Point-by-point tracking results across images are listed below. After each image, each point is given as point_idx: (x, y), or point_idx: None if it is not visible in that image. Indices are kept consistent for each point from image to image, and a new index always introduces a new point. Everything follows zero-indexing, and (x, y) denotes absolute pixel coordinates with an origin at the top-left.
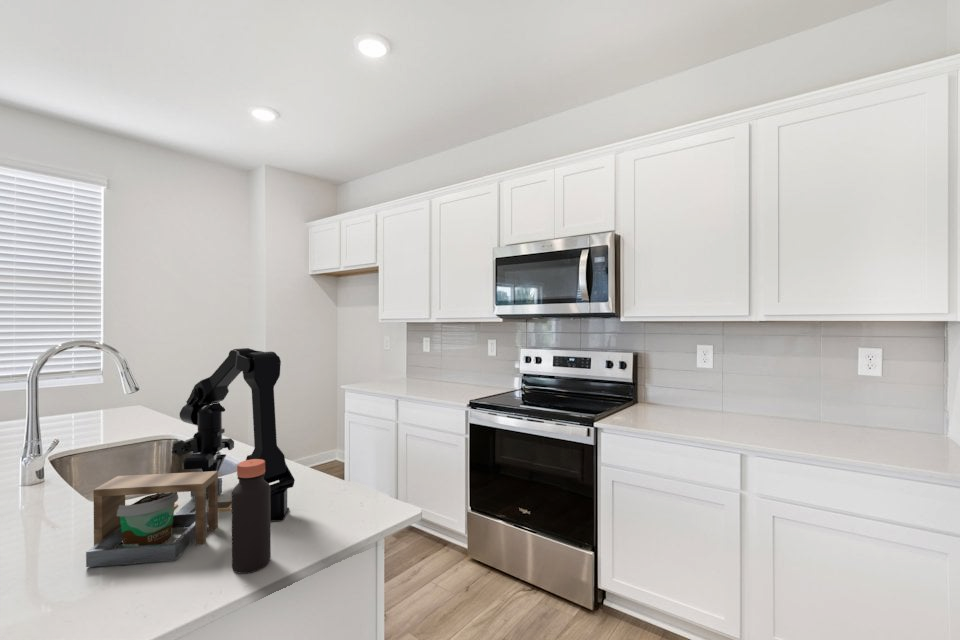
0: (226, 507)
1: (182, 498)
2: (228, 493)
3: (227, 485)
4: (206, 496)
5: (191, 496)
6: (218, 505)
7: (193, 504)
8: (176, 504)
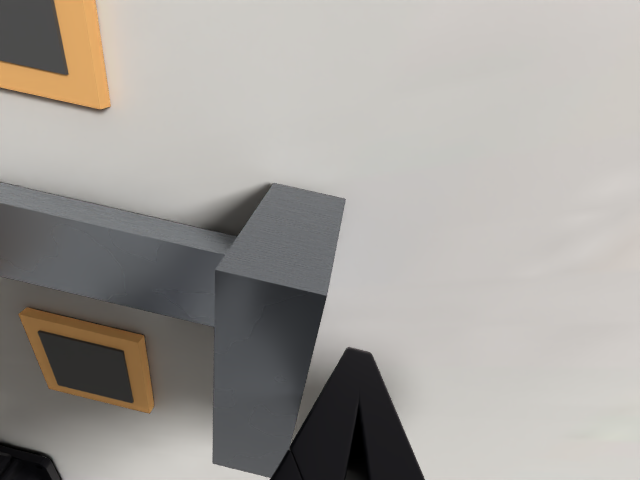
0: (57, 379)
1: (297, 101)
2: None
3: (479, 381)
4: (164, 314)
5: (269, 191)
6: (75, 354)
7: (9, 255)
8: (90, 96)
